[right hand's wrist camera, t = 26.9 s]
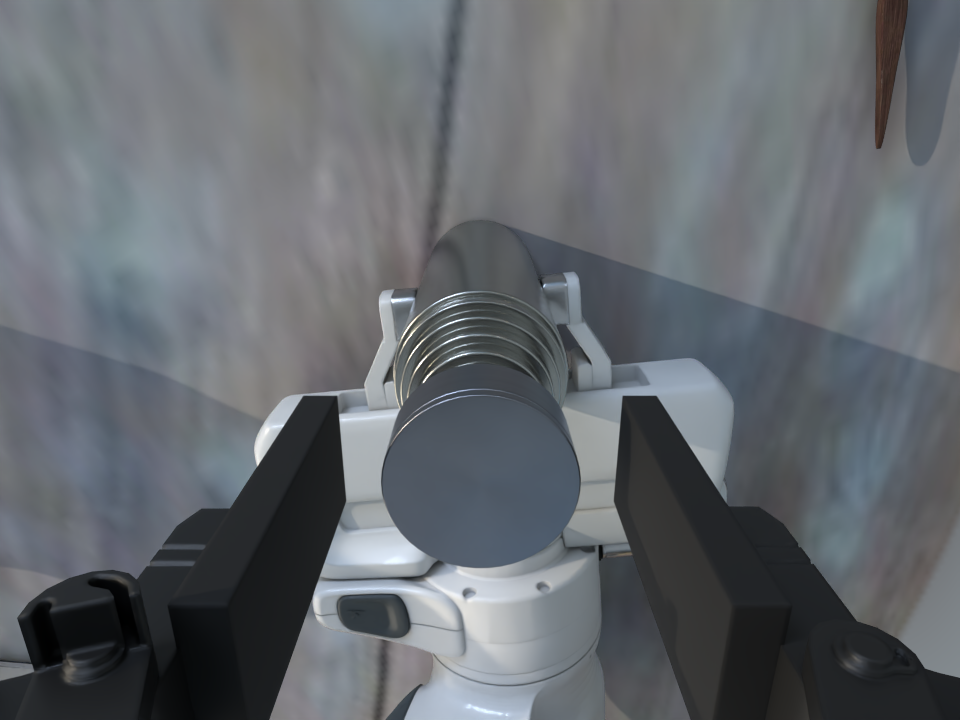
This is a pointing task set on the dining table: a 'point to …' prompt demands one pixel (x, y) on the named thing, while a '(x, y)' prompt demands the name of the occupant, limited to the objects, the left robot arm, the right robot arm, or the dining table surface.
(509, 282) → the bottle
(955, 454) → the dining table surface
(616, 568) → the dining table surface
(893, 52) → the fork
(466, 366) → the cap
